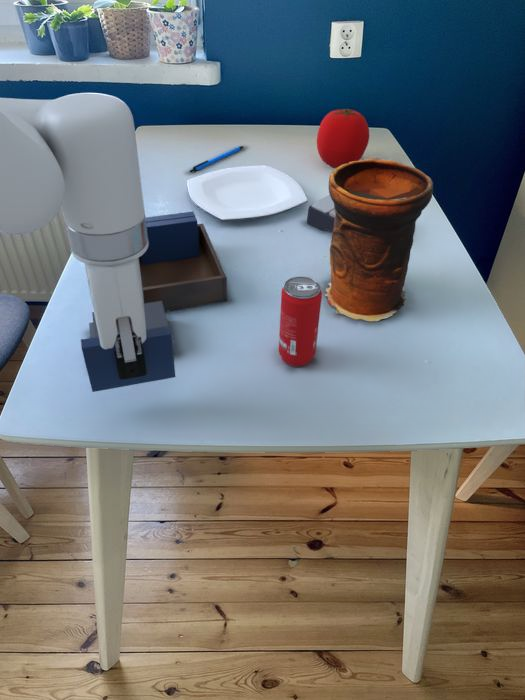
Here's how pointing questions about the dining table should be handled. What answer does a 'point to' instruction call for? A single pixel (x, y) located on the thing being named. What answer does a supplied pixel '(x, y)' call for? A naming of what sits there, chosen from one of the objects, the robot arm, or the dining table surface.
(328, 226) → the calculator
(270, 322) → the dining table surface
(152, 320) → the grey books
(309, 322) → the beverage can
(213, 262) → the book box
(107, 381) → the blue book
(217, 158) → the pen
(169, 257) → the blue books
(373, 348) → the dining table surface
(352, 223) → the vessel
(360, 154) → the tomato
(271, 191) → the plate
